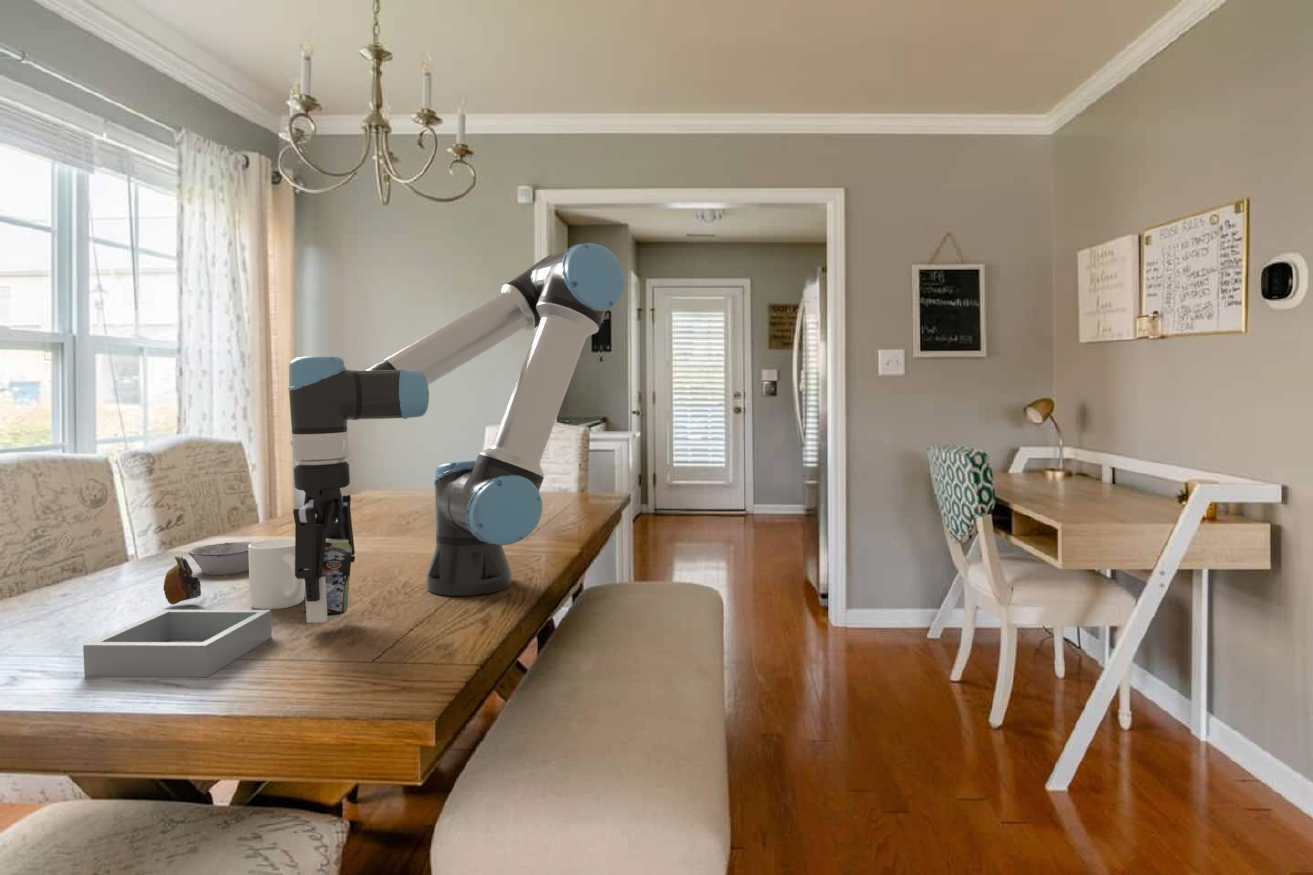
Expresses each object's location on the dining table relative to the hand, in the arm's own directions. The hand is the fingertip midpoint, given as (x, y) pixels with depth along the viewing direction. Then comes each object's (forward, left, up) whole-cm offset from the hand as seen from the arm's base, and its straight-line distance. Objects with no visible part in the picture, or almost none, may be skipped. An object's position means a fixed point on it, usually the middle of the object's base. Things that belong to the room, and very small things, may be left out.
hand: (329, 612), depth 112 cm
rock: (+29, -12, -3) cm, 31 cm away
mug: (+14, -13, -3) cm, 19 cm away
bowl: (+38, -38, -3) cm, 53 cm away
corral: (+15, +11, -2) cm, 19 cm away
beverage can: (0, 0, -1) cm, 1 cm away
